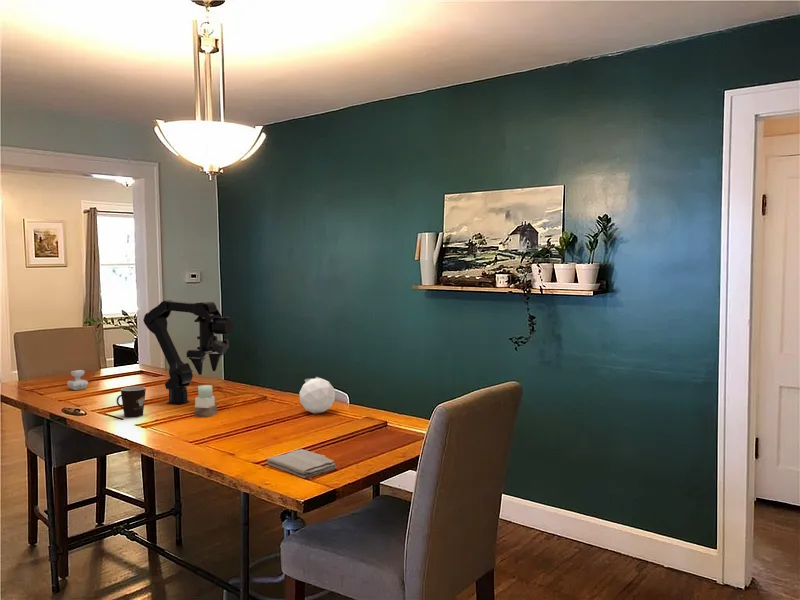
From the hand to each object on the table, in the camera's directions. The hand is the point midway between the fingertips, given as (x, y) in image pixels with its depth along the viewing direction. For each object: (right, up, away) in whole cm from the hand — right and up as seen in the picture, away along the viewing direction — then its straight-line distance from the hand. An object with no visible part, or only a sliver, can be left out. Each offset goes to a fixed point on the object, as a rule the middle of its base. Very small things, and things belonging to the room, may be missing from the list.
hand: (207, 372), depth 251 cm
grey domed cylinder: (+4, -7, -16) cm, 18 cm away
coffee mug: (-23, -14, -18) cm, 32 cm away
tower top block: (+4, -11, -16) cm, 19 cm away
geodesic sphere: (+45, -14, -10) cm, 48 cm away
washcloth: (+49, -18, -75) cm, 91 cm away
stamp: (-67, -11, +31) cm, 75 cm away
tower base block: (+4, -14, -15) cm, 21 cm away
